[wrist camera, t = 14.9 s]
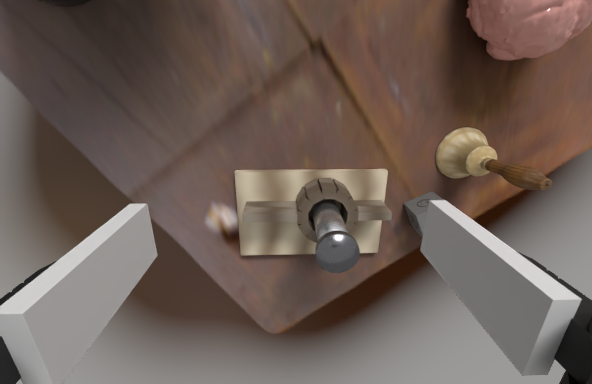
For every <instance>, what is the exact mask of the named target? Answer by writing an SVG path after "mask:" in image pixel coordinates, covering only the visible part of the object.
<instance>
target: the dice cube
mask: <svg viewBox="0 0 592 384" xmlns="http://www.w3.org/2000/svg"><path fill="white" fill-rule="evenodd" d="M430 200H443V199H442V198H441V197H439V196H438V195H436V194H435V193H434V192H432V191H431V192H428V193H426V194H424V195H421V196H419V197H417V198H414V199H412V200H410V201H407V202H405V203H404V206H405V209H406V211H407V214H408V217H409V220H410V223H411V225H412V227H413V228H414V229H415V231H416V232H417V233H418V234H419V235H420V236H421V237H422V238H423V233H424V228H425V222H426V217H427V211H428V206H429V201H430Z"/></svg>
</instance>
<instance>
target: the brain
mask: <svg viewBox="0 0 592 384" xmlns="http://www.w3.org/2000/svg"><path fill="white" fill-rule="evenodd" d="M467 3H468V5H469V8H467V15H466V17H467V18H469V21H470V24H471V26H472V28H473V30H474V31H475V32H476V33H477V35H478V37H481V38H482V39H484V40H486V41H487V44H486V50H487V52H488V54H489V55H491V57H493V58H494V59H498V60H506V61H512V60H519V59H523V58H533V59H535V58H538V57H542V56H544V55H546V54H548V53H551V52H554V51H556V50H557V49H559V48H560V47H561V46H563V45H564V43H565V42H567V40H570V39H572V38H574V37H575V36H577V35H578V34H580V33H581V32H582V31H583V30H585V29H586V28H587V27H588V26H589V25H590V23H591V22H592V0H469V1H468V2H467Z"/></svg>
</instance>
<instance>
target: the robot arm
mask: <svg viewBox="0 0 592 384" xmlns="http://www.w3.org/2000/svg"><path fill="white" fill-rule="evenodd" d="M40 1H43V2H46V3H49V4H53V5H59V6H73V5H78V4H82V3H84V2H87V1H88V0H40ZM420 250H421V252H422V253H423V254H424V256H425V257H426V258H427V259H428V261H429V262H430V263H431V264H432V265H433V267H434V268H435V269H436V270H437V272H438V273H439V274H440V275H441V277H442V278H443V279H444V280H445V281H446V283H447V284H448V285H449V286H450V288H451V289H452V290H453V291H454V292H455V294H456V295H457V296H458V297H459V299H460V300H461V301H462V302H463V303H464V305H465V306H466V307H467V308H468V310H469V311H470V312H471V313H472V315H473V316H474V317H475V318H476V319H477V321H478V322H479V323H480V324H481V326H482V327H483V328H484V329H485V330H486V332H487V333H488V334H489V335H490V337H491V338H492V339H493V340H494V341H495V343H496V344H497V345H498V346H499V348H500V349H501V350H502V351H503V353H504V354H505V355H506V356H507V358H508V359H509V360H510V361H511V362H512V364H513V365H514V366H515V367H516V369H517V370H518V371H519V372H520V373H521V375H522V376H524V375H548V373H549V371H550V368H551V366H552V364H553V361H554V360H555V359H556V360H557V361H558V362H559V363H560V364H561V366H562V367H563V368H564V369H565V370H566V371H565V373H564V375H563V377H562V379H561V381H560V383H559V384H592V300H590V299H589V298H587V297H586V296H585V295H583V294H582V293H580V292H579V291H578V290H576V289H575V288H573V287H572V286H570V285H569V284H568V283H566V282H565V281H563V280H562V279H558V277H557V276H556V275H555V274H553V273H552V272H550V271H547V269H546V268H545V267H544V266H542V265H541V264H539V263H538V262H536V261H535V260H533V259H532V258H529V257H527V256H525V255H523V254H521V253H519V252H516V251H515V250H513V249H512V248H511V247H509V246H508V245H506V244H505V243H504V242H502V241H501V240H500V239H498V238H497V237H495V236H494V235H493V234H491V233H490V232H489V231H487V230H486V229H484V228H483V227H482V226H480V225H479V224H477V223H476V222H475V221H473V220H472V219H471V218H469V217H468V216H466V215H465V214H464V213H462V212H461V211H460V210H458V209H457V208H455V207H454V206H453V205H451V204H450V203H449V202H447V201H446V200H430V201H429V206H428V211H427V217H426V222H425V228H424V233H423V238H422V244H421V249H420ZM156 257H157V251H156V245H155V240H154V235H153V230H152V225H151V220H150V215H149V210H148V205H147V204H129V205H128V206H127V207H126V208H124V209H123V210H122V211H120V212H119V213H118V214H117V215H115V216H114V217H113V218H112V219H110V220H109V221H108V222H106V223H105V224H104V225H103V226H101V227H100V228H99V229H98V230H96V231H95V232H94V233H92V234H91V235H90V236H89V237H87V238H86V239H85V240H84V241H82V242H81V243H80V244H79V245H77V246H76V247H75V248H73V249H72V250H71V251H70V252H68V253H67V254H66V255H64V256H63V257H62V258H61V259H59V260H58V261H55V262H53V263H52V264H50V265H48V266H46V267H44V268H42V269H40V270H38V271H37V272H35V273H34V274H33V275H31V276H30V277H29V278H27V279H26V280H25V281H24V283H21V284H19V285H18V286H17V287H16V288H14V289H13V290H12V292H9V293H8V294H6V295H5V296H4V297H3V298H1V299H0V384H16V383H17V381H18V380H19V379H21V381H22V382H23V384H64V382H65V381H66V379H67V378H68V377H69V375H70V374H71V372H72V371H73V370H74V368H75V367H76V366H77V365H78V363H79V362H80V360H81V359H82V358H83V356H84V355H85V354H86V352H87V351H88V349H89V348H90V347H91V345H92V344H93V343H94V341H95V340H96V339H97V337H98V336H99V334H100V333H101V332H102V330H103V329H104V328H105V326H106V325H107V324H108V322H109V321H110V319H111V318H112V317H113V315H114V314H115V313H116V311H117V310H118V308H119V307H120V306H121V304H122V303H123V302H124V300H125V299H126V298H127V296H128V295H129V294H130V292H131V291H132V289H133V288H134V287H135V285H136V284H137V283H138V281H139V280H140V279H141V277H142V276H143V274H144V273H145V272H146V270H147V269H148V268H149V266H150V265H151V264H152V262H153V261H154V259H155V258H156Z"/></svg>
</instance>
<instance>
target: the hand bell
mask: <svg viewBox="0 0 592 384" xmlns="http://www.w3.org/2000/svg"><path fill="white" fill-rule="evenodd" d="M436 164H437V167H438V169H439V170H440V172H441V173H442V174H444V175H445V176H447V177H450V178H463V177H467V176H469V175H474V176H483V175H485V174H487V173H489V172H490V171H491V172H494V173H497V174H500V175H501V176H503V177H504V179H505V180H507V181H508V182H509V183H511V184H513V185H515V186H517V187H520V188H524V189H533V190H534V189H536V190H548V189H549V188H550V187H551V186H552V182H551V180H549V179H548V178H546V177H545V176H544V175H543V174H542V173H541V172H539V171H538V170H536V169H535V168H532V167H529V166H526V165H521V164H505V163H503V162H500V161H498V160H497V154H496V152H495V150H494V149H493V148H491V147H489V146H488V142H487V139H486V137H485V136H484V134H483V133H482V132H481V131H479V130H477V129H475V128H471V127H464V128H459V129H456V130H454V131H452V132H450V133H449V134H448V135H447V136H445V138H444V139H443V140H442V141H441V143H440V144H439V146H438V148H437V151H436Z"/></svg>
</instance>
